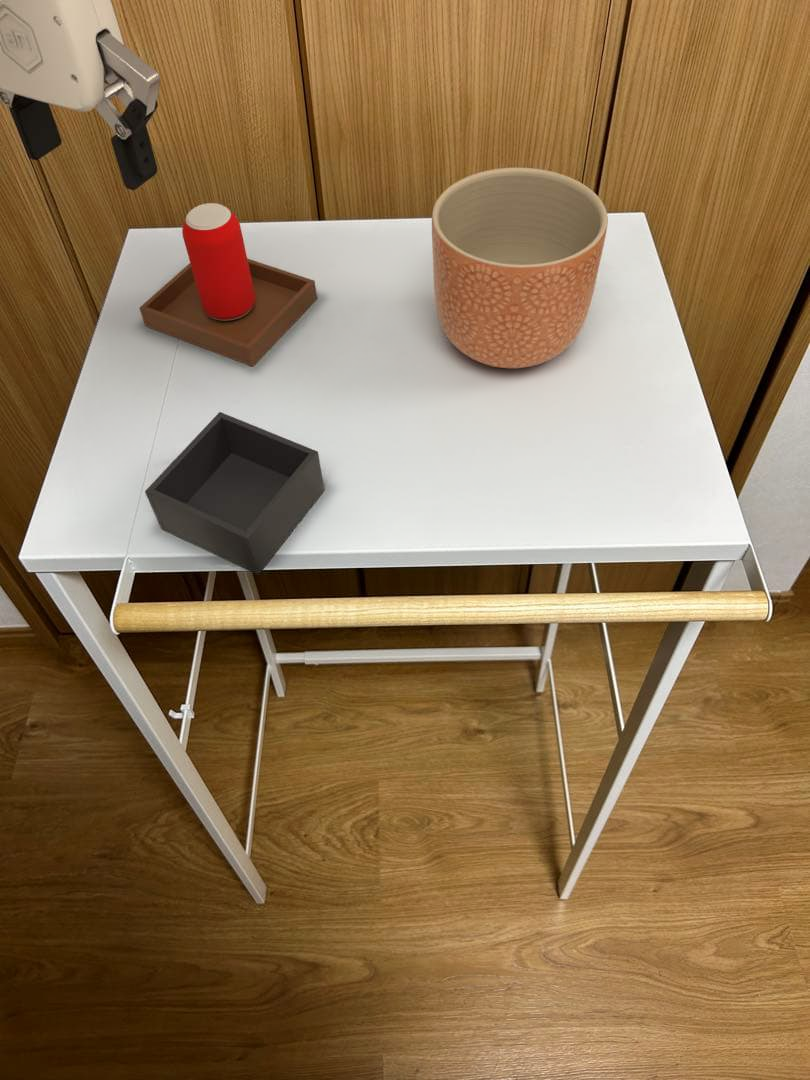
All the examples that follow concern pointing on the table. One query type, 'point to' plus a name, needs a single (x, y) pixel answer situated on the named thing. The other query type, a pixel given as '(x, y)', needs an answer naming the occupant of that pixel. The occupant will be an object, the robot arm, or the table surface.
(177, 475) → the bin
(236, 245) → the beverage can
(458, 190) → the planter
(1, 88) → the robot arm
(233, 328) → the tray
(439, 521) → the table surface
